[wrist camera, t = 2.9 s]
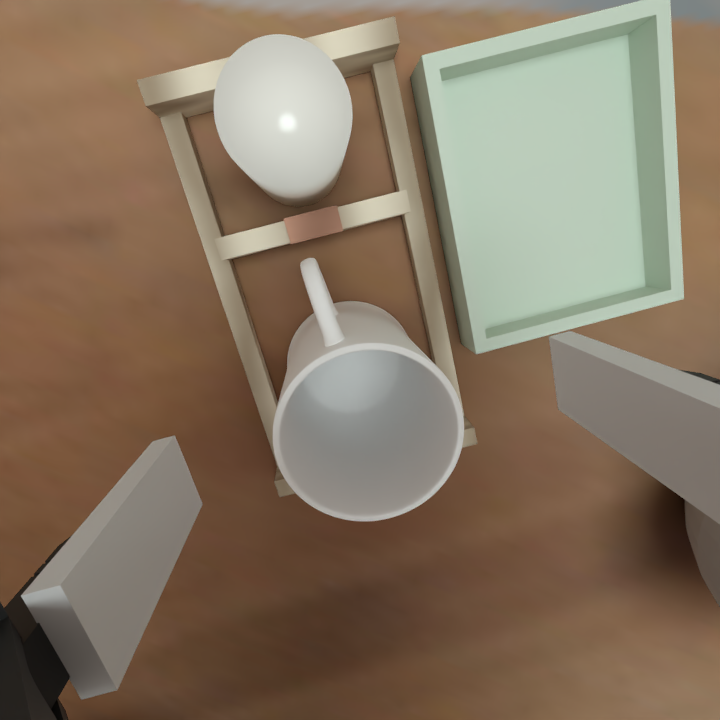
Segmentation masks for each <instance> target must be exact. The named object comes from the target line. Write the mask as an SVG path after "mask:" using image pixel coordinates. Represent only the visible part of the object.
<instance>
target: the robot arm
mask: <svg viewBox="0 0 720 720" xmlns="http://www.w3.org/2000/svg"><path fill="white" fill-rule="evenodd" d="M549 342H550V350H551V358H552V365H553V373H554V381H555V389H556V397H557V404H558V410H560V411H561V412H563V413H564V414H565V415H567V416H568V417H570V418H571V419H572V420H574V421H575V422H577V423H578V424H579V425H581V426H582V427H584V428H585V429H586V430H588V431H589V432H591V433H592V434H593V435H595V436H596V437H598V438H599V439H600V440H602V441H603V442H605V443H606V444H607V445H609V446H610V447H612V448H613V449H615V450H616V451H617V452H619V453H620V454H622V455H623V456H624V457H626V458H627V459H629V460H630V461H631V462H633V463H634V464H636V465H637V466H638V467H640V468H641V469H643V470H644V471H645V472H647V473H648V474H650V475H651V476H652V477H654V478H655V479H657V480H658V481H659V482H661V483H662V484H664V485H665V486H667V487H668V488H669V489H671V490H672V491H674V492H675V493H676V494H678V495H679V496H681V497H682V498H683V499H685V500H686V501H688V502H689V503H690V504H692V505H693V506H695V507H696V508H697V509H699V510H700V511H702V512H703V513H704V514H706V515H707V516H709V517H710V518H711V519H713V520H714V521H716V522H717V523H718V524H720V380H719V379H716V378H713V377H710V376H707V375H704V374H701V373H696V372H689V371H683V370H677V369H674V368H672V367H669V366H666V365H663V364H661V363H658V362H655V361H652V360H649V359H647V358H644V357H641V356H638V355H636V354H633V353H630V352H627V351H624V350H622V349H619V348H616V347H613V346H611V345H608V344H605V343H602V342H599V341H597V340H594V339H591V338H588V337H585V336H583V335H580V334H577V333H574V332H572V331H569V332H565V333H561V334H557V335H553V336H550V337H549ZM201 507H202V501H201V499H200V496H199V494H198V491H197V489H196V486H195V484H194V481H193V479H192V477H191V474H190V472H189V469H188V467H187V464H186V462H185V459H184V457H183V454H182V452H181V449H180V447H179V444H178V442H177V440H176V437H175V436H171V437H167V438H163V439H159V440H156V441H153V442H152V443H151V444H150V445H149V446H148V447H147V449H146V450H145V451H144V452H143V453H142V454H141V456H140V457H139V458H138V459H137V460H136V461H135V463H134V464H133V465H132V466H131V467H130V468H129V470H128V471H127V472H126V473H125V474H124V475H123V477H122V478H121V479H120V480H119V481H118V483H117V484H116V485H115V486H114V487H113V488H112V490H111V491H110V492H109V493H108V494H107V495H106V497H105V498H104V499H103V500H102V501H101V502H100V504H99V505H98V506H97V507H96V508H95V509H94V511H93V512H92V513H91V514H90V515H89V516H88V518H87V519H86V520H85V521H84V522H83V524H82V525H81V526H80V527H79V528H78V529H77V531H76V532H75V533H74V534H73V535H72V536H70V537H69V538H68V539H67V540H65V541H64V542H63V543H62V544H60V545H59V546H58V547H57V548H56V549H55V551H54V552H53V553H52V554H51V555H50V556H49V557H48V559H47V560H46V561H45V562H46V563H45V564H42V566H41V567H40V568H39V569H38V570H37V571H36V572H35V574H34V577H31V578H30V579H29V580H28V582H27V583H26V584H25V585H24V586H23V587H22V588H21V590H20V591H19V592H18V593H17V594H16V595H15V597H14V598H13V599H12V600H11V601H10V602H9V603H8V605H7V606H6V607H5V608H3V606H2V604H1V603H0V720H68V717H67V714H66V711H65V709H64V707H63V706H62V704H61V702H60V701H59V699H58V697H59V695H60V693H61V692H62V690H63V688H64V686H65V685H66V683H67V681H68V680H69V679H70V681H71V683H72V684H73V686H74V688H75V690H76V691H77V693H78V695H79V696H80V698H81V700H82V699H86V698H90V697H93V696H97V695H101V694H104V693H108V692H112V691H115V690H118V688H119V685H120V683H121V681H122V679H123V677H124V674H125V672H126V670H127V668H128V666H129V664H130V661H131V659H132V657H133V655H134V653H135V650H136V648H137V646H138V644H139V642H140V640H141V637H142V635H143V633H144V631H145V629H146V626H147V624H148V622H149V620H150V618H151V616H152V613H153V611H154V609H155V607H156V605H157V603H158V600H159V598H160V596H161V594H162V592H163V589H164V587H165V585H166V583H167V581H168V579H169V576H170V574H171V572H172V570H173V568H174V565H175V563H176V561H177V559H178V557H179V555H180V552H181V550H182V548H183V546H184V544H185V542H186V539H187V537H188V535H189V533H190V531H191V528H192V526H193V524H194V522H195V520H196V518H197V515H198V513H199V511H200V509H201Z"/></svg>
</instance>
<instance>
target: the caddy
mask: <svg viewBox="0 0 720 720" xmlns="http://www.w3.org/2000/svg"><path fill="white" fill-rule="evenodd" d="M304 40H306V41H308V42H310V43H312V44H313V45H315V46H317V47H318V48H319V49H321V50H322V51H323V52H324V53H325V54H327V56H328V57H329V58H330V59H331V60H332V61H333V62H334V63H335V65H336V66H337V68H338V69H339V71H340V72H341V74H342V76H343V78H346V77H350V76H354V75H358V74H362V73H366V72H370V71H371V75H372V79H373V84H374V89H375V93H376V98H377V103H378V108H379V112H380V117H381V122H382V126H383V131H384V136H385V140H386V145H387V150H388V155H389V159H390V164H391V169H392V173H393V178H394V183H395V188H396V192H395V193H391V194H387V195H383V196H379V197H375V198H372V199H368V200H364V201H360V202H356V203H352V204H348V205H344V206H340V207H337V205H334V206H330V207H326V208H323V209H319V210H315V211H311V212H307V213H303V214H299V215H295V216H291V217H288V218H284V221H282V222H278V223H274V224H270V225H267V226H263V227H259V228H255V229H251V230H247V231H243V232H239V233H235V234H232V235H228V236H224V233H223V230H222V227H221V224H220V221H219V217H218V214H217V211H216V208H215V205H214V202H213V199H212V196H211V193H210V189H209V186H208V183H207V180H206V177H205V174H204V171H203V168H202V165H201V161H200V158H199V155H198V152H197V149H196V146H195V143H194V140H193V137H192V133H191V130H190V127H189V124H188V121H187V117H191V116H195V115H199V114H203V113H207V112H211V111H214V94H215V88H216V84H217V80H218V78H219V75H220V73H221V71H222V69H223V67H224V65H225V64H226V62H227V61H228V60H229V58H230V57H228V58H224V59H220V60H216V61H212V62H208V63H204V64H200V65H196V66H192V67H188V68H184V69H180V70H176V71H172V72H168V73H164V74H160V75H156V76H152V77H148V78H144V79H140V80H137V82H138V85H139V88H140V91H141V94H142V97H143V99H144V102H145V105H146V107H147V108H149V109H150V110H151V111H152V112H154V113H155V114H156V115H157V116H158V117H160V120H161V123H162V125H163V128H164V131H165V134H166V137H167V140H168V143H169V146H170V149H171V152H172V155H173V158H174V161H175V164H176V167H177V170H178V173H179V176H180V179H181V182H182V185H183V188H184V191H185V194H186V197H187V200H188V203H189V206H190V209H191V212H192V215H193V218H194V221H195V224H196V227H197V230H198V233H199V235H200V238H201V241H202V244H203V247H204V250H205V253H206V256H207V259H208V262H209V265H210V268H211V271H212V274H213V277H214V280H215V283H216V286H217V289H218V292H219V295H220V298H221V301H222V304H223V307H224V310H225V313H226V316H227V319H228V322H229V325H230V328H231V331H232V334H233V337H234V340H235V342H236V345H237V348H238V351H239V354H240V357H241V360H242V363H243V366H244V369H245V372H246V375H247V378H248V381H249V384H250V387H251V390H252V393H253V396H254V399H255V402H256V405H257V408H258V411H259V414H260V417H261V420H262V423H263V426H264V429H265V432H266V435H267V438H268V441H269V444H270V447H271V449H272V452H273V455H274V458H275V454H274V448H273V423H274V417H275V413H276V409H277V405H278V401H277V398H276V395H275V392H274V389H273V385H272V382H271V379H270V376H269V373H268V370H267V367H266V364H265V361H264V357H263V354H262V351H261V348H260V345H259V342H258V339H257V336H256V333H255V329H254V326H253V323H252V320H251V317H250V314H249V311H248V308H247V305H246V301H245V298H244V295H243V292H242V289H241V286H240V283H239V280H238V277H237V273H236V270H235V267H234V264H233V261H232V259H235V258H239V257H242V256H246V255H250V254H254V253H258V252H262V251H266V250H270V249H273V248H277V247H281V246H285V245H289V244H295V243H299V242H303V241H306V240H310V239H314V238H318V237H322V236H326V235H330V234H334V233H337V232H341V231H343V230H347V229H351V228H355V227H358V226H362V225H366V224H370V223H374V222H378V221H382V220H386V219H389V218H393V217H397V216H402V221H403V225H404V230H405V235H406V239H407V244H408V249H409V254H410V258H411V263H412V268H413V272H414V277H415V282H416V287H417V291H418V296H419V301H420V305H421V310H422V315H423V320H424V324H425V329H426V334H427V338H428V343H429V348H430V352H431V357H432V362H433V363H434V364H435V365H436V366H437V367H438V368H439V369H440V370H441V371H442V372H443V373H444V375H445V376H446V377H447V378H448V380H449V381H450V383H451V384H452V386H453V388H454V389H455V391H456V394H457V396H458V398H459V401H460V404H461V407H462V402H461V397H460V392H459V386H458V381H457V376H456V371H455V366H454V361H453V356H452V351H451V346H450V341H449V336H448V331H447V326H446V321H445V316H444V311H443V306H442V301H441V296H440V291H439V286H438V281H437V276H436V271H435V266H434V261H433V255H432V250H431V245H430V240H429V235H428V230H427V225H426V220H425V215H424V210H423V205H422V200H421V195H420V190H419V185H418V180H417V175H416V170H415V165H414V160H413V155H412V150H411V145H410V140H409V135H408V130H407V124H406V119H405V114H404V109H403V104H402V99H401V94H400V89H399V84H398V79H397V74H396V69H395V64H394V57H395V54H396V51H397V49H398V46H399V44H400V41H399V36H398V31H397V26H396V20H395V16H394V17H390V18H386V19H382V20H378V21H374V22H370V23H365V24H361V25H357V26H353V27H349V28H345V29H341V30H337V31H333V32H329V33H325V34H321V35H317V36H313V37H309V38H305V39H304ZM462 412H463V407H462ZM463 418H464V438H463V444H462V448H463V447H467V446H471V445H474V444H477V439H476V434H475V429H474V427H473V425H472V424H471V423H470V422H469V421H468V420H467V418H466V417H465V416H464V412H463ZM275 461H276V458H275ZM276 464H277V461H276ZM274 482H275V485H276V488H277V491H278V494H279V497H283V496H287V495H290V494H294V493H295V492H294V491H293V490H292V488H291V487H290V486H289V485H288V483H287V482H286V480H285V479H284V477H283V475H282V473H281V471H280V469H279V467H278V464H277V470H276V475H275V480H274Z"/></svg>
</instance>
